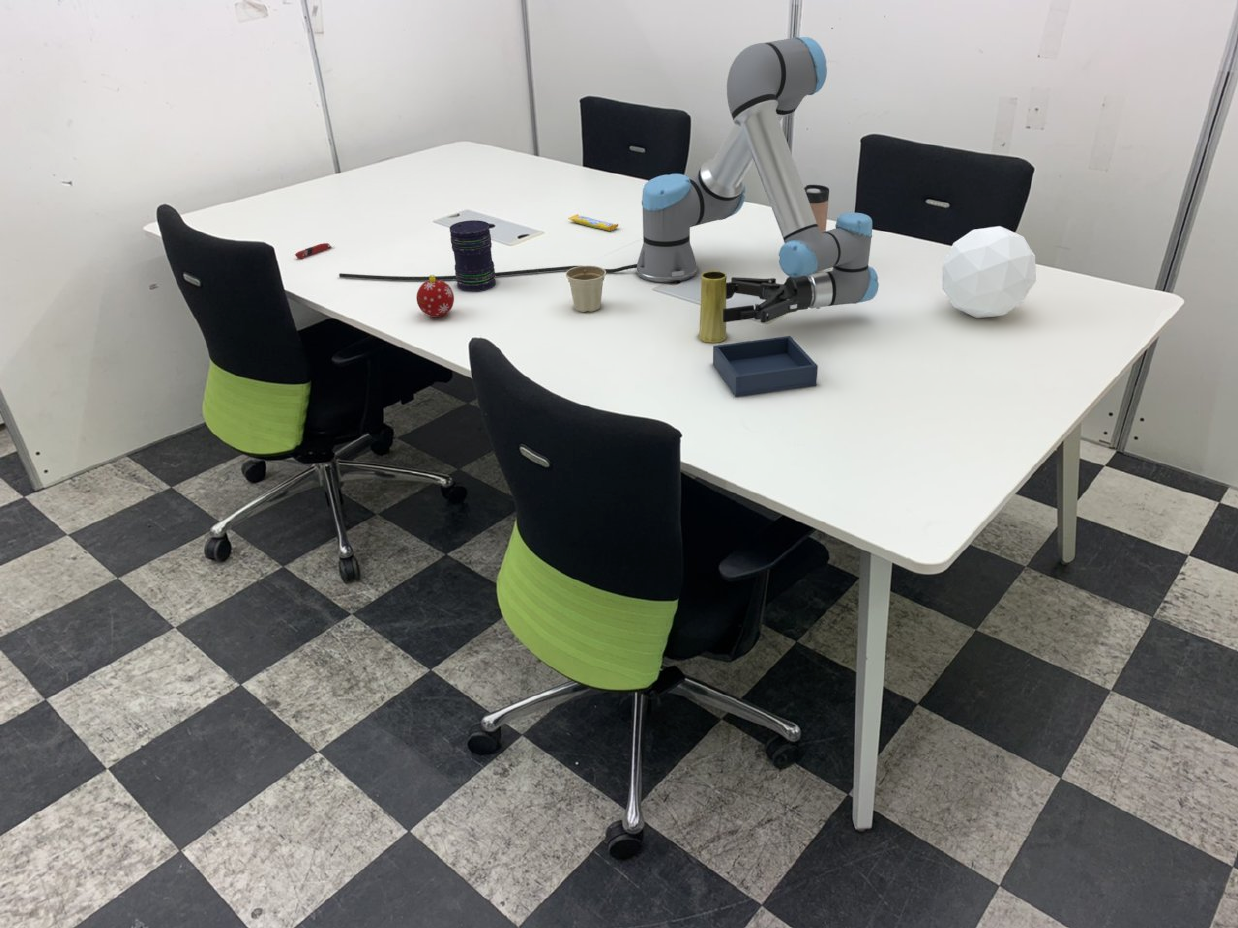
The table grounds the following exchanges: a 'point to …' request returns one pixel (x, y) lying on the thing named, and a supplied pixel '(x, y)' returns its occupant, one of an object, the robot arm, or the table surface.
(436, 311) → the christmas ornament
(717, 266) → the table surface
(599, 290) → the flower pot
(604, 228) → the candy bar
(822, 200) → the travel mug
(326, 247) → the utility knife
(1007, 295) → the geometric polyhedron
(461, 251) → the storage jar
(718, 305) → the vase
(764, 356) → the tray
